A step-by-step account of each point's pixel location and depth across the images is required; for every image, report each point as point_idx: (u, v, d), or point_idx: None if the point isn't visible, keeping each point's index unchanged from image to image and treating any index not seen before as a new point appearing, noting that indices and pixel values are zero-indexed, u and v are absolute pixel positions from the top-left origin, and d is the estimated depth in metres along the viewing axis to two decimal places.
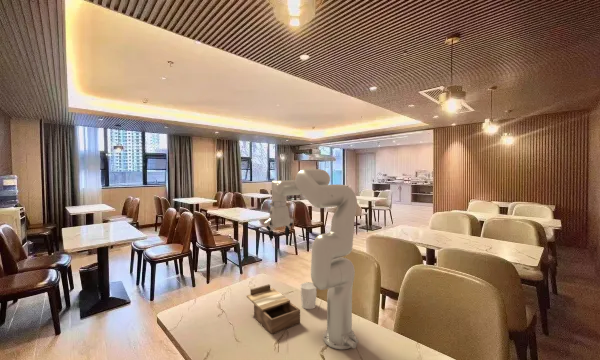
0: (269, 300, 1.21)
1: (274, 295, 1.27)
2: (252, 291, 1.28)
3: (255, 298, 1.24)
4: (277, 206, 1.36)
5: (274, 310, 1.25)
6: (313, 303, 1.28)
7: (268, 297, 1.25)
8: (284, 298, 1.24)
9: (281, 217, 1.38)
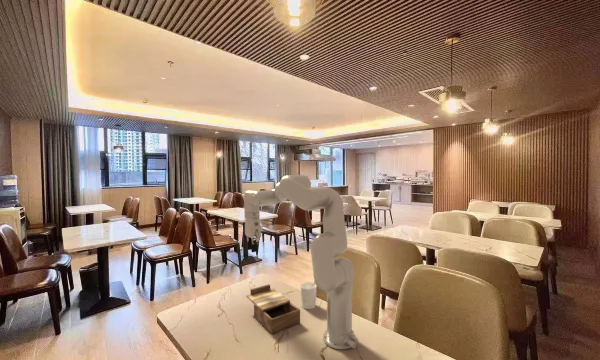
0: (269, 300, 1.21)
1: (274, 295, 1.27)
2: (252, 291, 1.28)
3: (255, 298, 1.24)
4: (259, 216, 1.36)
5: (274, 310, 1.25)
6: (313, 303, 1.28)
7: (268, 297, 1.25)
8: (284, 298, 1.24)
9: None
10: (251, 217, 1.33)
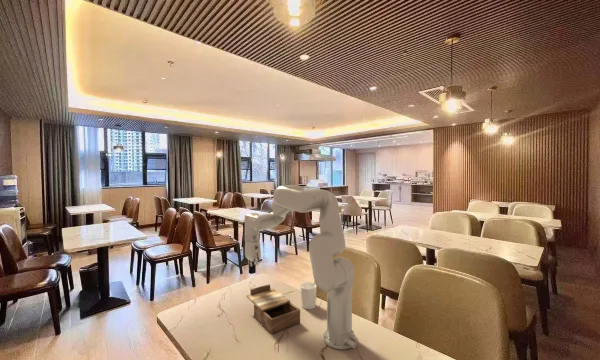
0: (269, 300, 1.21)
1: (274, 295, 1.27)
2: (252, 291, 1.28)
3: (255, 298, 1.24)
4: (259, 239, 1.36)
5: (274, 310, 1.25)
6: (313, 303, 1.28)
7: (268, 297, 1.25)
8: (284, 298, 1.24)
9: None
10: (251, 240, 1.33)
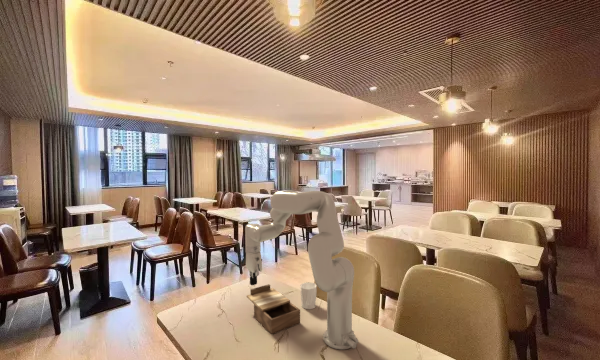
0: (269, 300, 1.21)
1: (274, 295, 1.27)
2: (252, 291, 1.28)
3: (255, 298, 1.24)
4: (260, 250, 1.36)
5: (274, 310, 1.25)
6: (313, 303, 1.28)
7: (268, 297, 1.25)
8: (284, 298, 1.24)
9: None
10: (252, 252, 1.33)
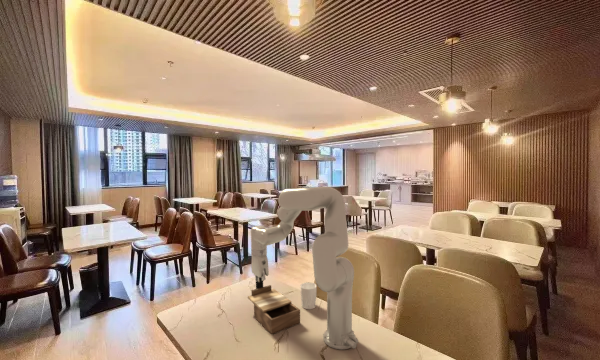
0: (271, 302, 1.20)
1: (275, 296, 1.26)
2: (253, 292, 1.27)
3: (256, 299, 1.23)
4: (266, 253, 1.30)
5: (274, 310, 1.25)
6: (313, 303, 1.28)
7: (270, 298, 1.24)
8: (285, 299, 1.23)
9: None
10: (258, 255, 1.27)
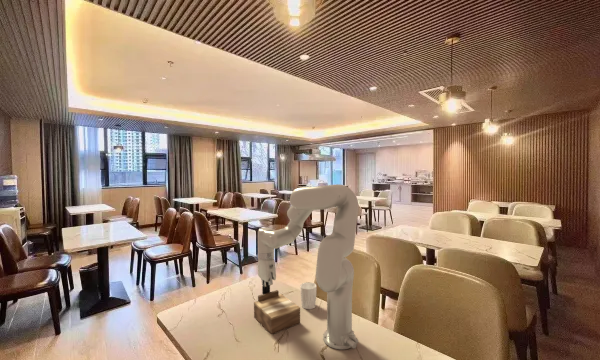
0: (278, 308, 1.15)
1: (283, 301, 1.20)
2: (260, 297, 1.21)
3: (263, 305, 1.17)
4: (273, 256, 1.25)
5: None
6: (313, 303, 1.28)
7: (277, 304, 1.18)
8: (294, 305, 1.17)
9: None
10: (265, 259, 1.21)
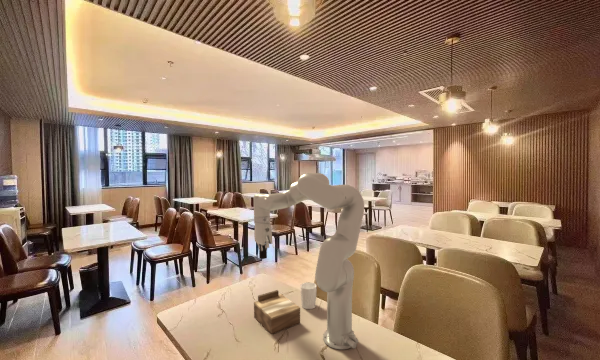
0: (278, 308, 1.15)
1: (283, 301, 1.21)
2: (260, 297, 1.21)
3: (263, 305, 1.17)
4: (269, 221, 1.27)
5: None
6: (313, 303, 1.28)
7: (277, 304, 1.18)
8: (294, 305, 1.17)
9: None
10: (261, 222, 1.24)
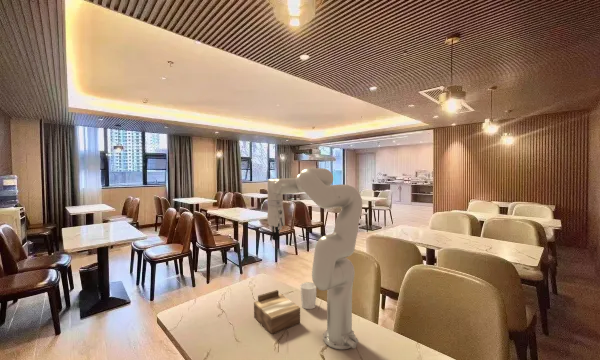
0: (278, 308, 1.15)
1: (283, 301, 1.21)
2: (260, 297, 1.21)
3: (263, 305, 1.17)
4: (282, 204, 1.34)
5: None
6: (313, 303, 1.28)
7: (277, 304, 1.18)
8: (294, 305, 1.17)
9: None
10: (275, 205, 1.31)
